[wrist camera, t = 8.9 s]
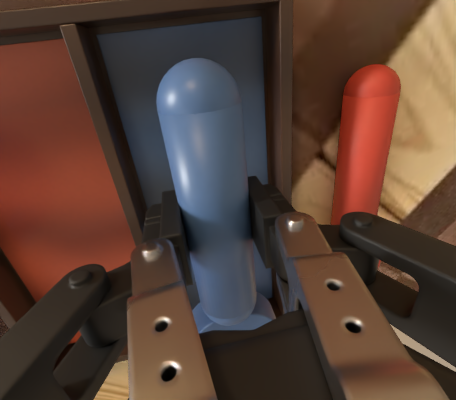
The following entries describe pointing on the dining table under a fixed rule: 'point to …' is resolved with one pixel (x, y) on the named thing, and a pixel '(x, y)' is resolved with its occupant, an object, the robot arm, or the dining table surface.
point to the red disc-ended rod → (364, 139)
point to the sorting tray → (120, 128)
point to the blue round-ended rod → (212, 191)
